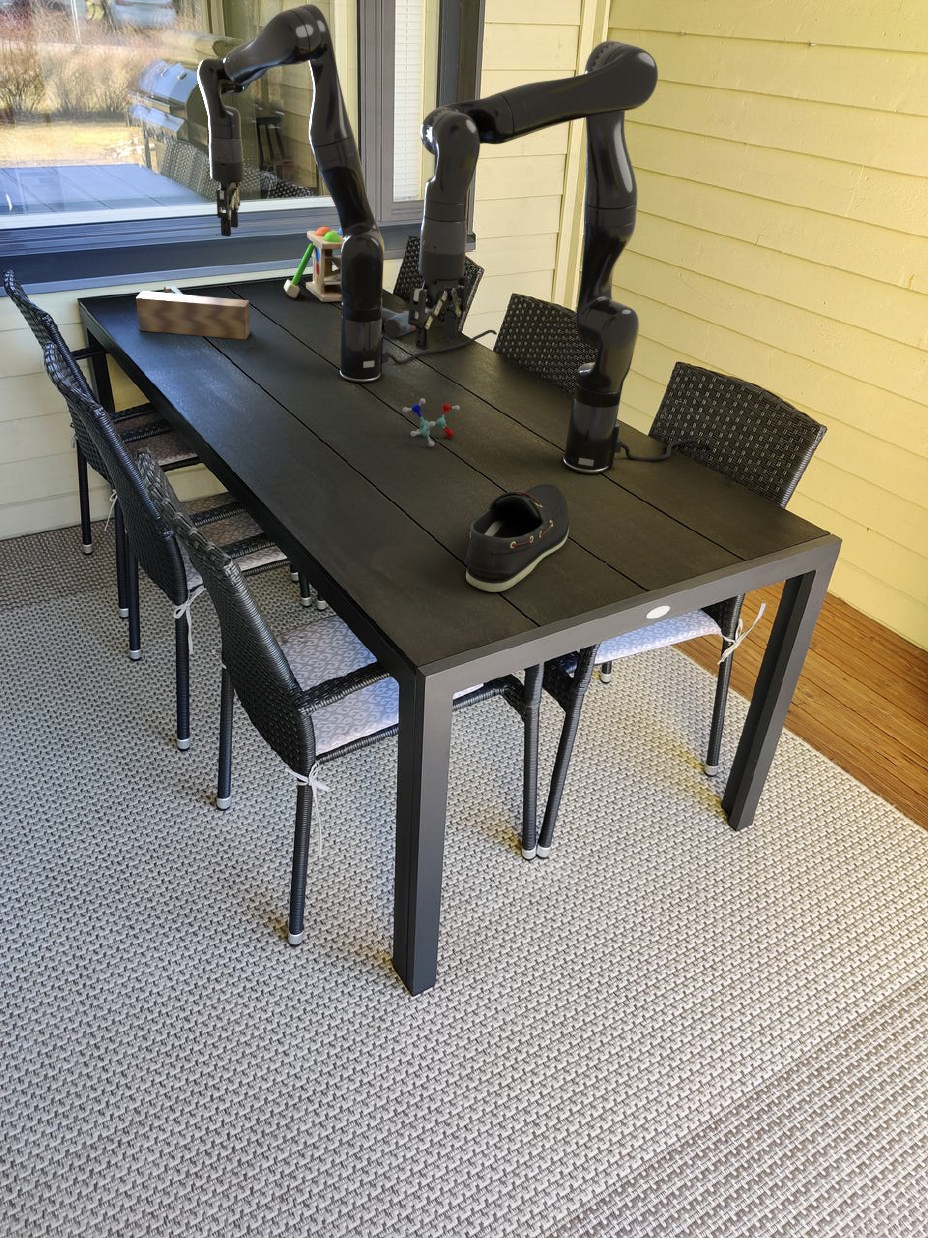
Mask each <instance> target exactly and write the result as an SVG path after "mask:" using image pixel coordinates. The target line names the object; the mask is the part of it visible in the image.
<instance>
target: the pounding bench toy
mask: <svg viewBox="0 0 928 1238" xmlns="http://www.w3.org/2000/svg"><path fill="white" fill-rule="evenodd" d="M306 237H307V239H309V240H310V241H311V242H312V243H309V244H308V246H307V248H306V251H305V253H304V255H303V257H302V259H301V261H300V263H299V265H298V267H297V269H296V271H295V273H294V275H293V278H292V280H290V279H287V280H286V281H285V283H284V285H283V289H284V290H285V292H286V294H287V296H289V297H291V298H297V296H298V295H299V292H300V287H299V285H298V284H299V282H300V280H301V278H302V276H303V275H304V272H305V270H306V268H307V265H308V263H309V262H310V259H311V258H312V281H307V282H306V281H305V288H306V289H307V291H309V292H310V293H311V294H312V295H314V296H315V298H318V299H319V301H321V302H323V303H327V302H329V303H330V302H341V255H333V251H334V250H342V245H343V237H342V231H341V227H339V229H338V230H337V229H335V230H332V229H331V228H330V227H328V226H321V227H319V228H318V229H317V230H307V231H306ZM333 264H334V265H335V267H336V269H334V270H333Z"/></svg>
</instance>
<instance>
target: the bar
mask: <svg viewBox="0 0 928 1238" xmlns="http://www.w3.org/2000/svg"><path fill="white" fill-rule="evenodd" d="M135 299H136V301H135V302H136V309H137V310H136V311H137V320H138V331H141V332H152V333H153V332H155V333H164V334H165V333H166V334H175V335H176V334H177V335H186V336H187V335H189V336H201V337H212V338H223V339H224V338H225V339H237V340H247V339H248V338H249V336H250V334H251V319H250V318H251V317H250V316H251V315H250V300H248V299H236V298H226V297H213V296H203V295H194V294H193V295H191V294H183V295H181V294H169V293H164V292H157V291H145V290H142V291H141V292H140V293H139V294H138V295H137V296H136V297H135Z"/></svg>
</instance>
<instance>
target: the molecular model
mask: <svg viewBox="0 0 928 1238" xmlns="http://www.w3.org/2000/svg"><path fill="white" fill-rule="evenodd" d="M425 404H426V399H425V398H420V399H419V403H418V404H414V405H413V406H412V407H409V408H408V407H406V406H405V407H403V408H402V413H403V414H408V413H409V412H413V413H415V414H417V416H418V417H419V419H420V421H421V422H420V423H419V425H420V426H419V429H416V430H412V431H410V434H409V436H410V437H412V438H414V437H417V436H422V437H425V438H426V439H427V442H428V446H429V448H433V447H434V446H435V441H433V440H432V439H431V437H430V434H431V429H432V428H435V426H436V425H437V426H438V427H440V428H442V430H443V431H444V433H445V436H446V437H447V438H453V437H454V431H453V430H452V429H450V428H449V427H448V425H447V424H446V419H445V417H446V415H447V412H449V411H450V410H454V411H455V412H459V411H460V410H461V408H460V405H457V404H456V405H454V406H453V405H450V404H449V403H444V404H443V405H442V410H443V412H442V414H441V417H439V418H438V419H437V420H436V421H433V420H431V421H428V420H426V419H424V417H423V415H422V412H421V410H422V405H425Z"/></svg>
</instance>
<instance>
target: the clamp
mask: <svg viewBox="0 0 928 1238" xmlns="http://www.w3.org/2000/svg"><path fill="white" fill-rule="evenodd" d="M163 293H169V294H181V295H184V294H183V292H182V291H181V290H179V289H178V288H177V286H176V285H173V286H163Z"/></svg>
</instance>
